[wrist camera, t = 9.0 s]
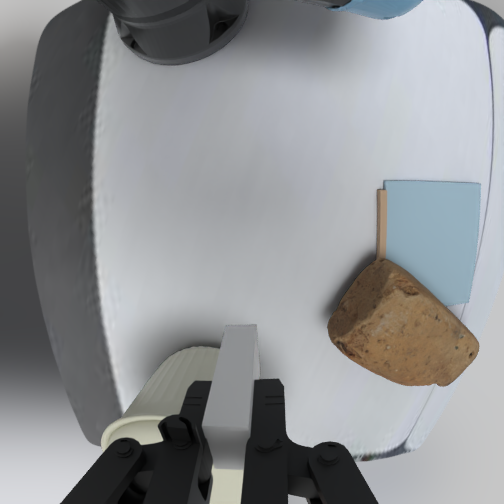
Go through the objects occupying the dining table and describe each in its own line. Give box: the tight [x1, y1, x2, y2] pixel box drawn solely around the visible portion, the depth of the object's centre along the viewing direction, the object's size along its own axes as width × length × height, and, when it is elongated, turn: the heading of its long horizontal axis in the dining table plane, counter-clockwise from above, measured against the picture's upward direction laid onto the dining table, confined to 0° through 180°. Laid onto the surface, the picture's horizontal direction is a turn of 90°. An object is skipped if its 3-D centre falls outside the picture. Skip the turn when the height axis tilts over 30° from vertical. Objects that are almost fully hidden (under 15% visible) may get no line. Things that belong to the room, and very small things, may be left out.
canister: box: [101, 346, 244, 504], centre depth 30 cm, size 18×18×21 cm
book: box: [376, 181, 481, 306], centre depth 33 cm, size 16×15×1 cm
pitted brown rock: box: [327, 258, 479, 387], centre depth 32 cm, size 11×8×20 cm
